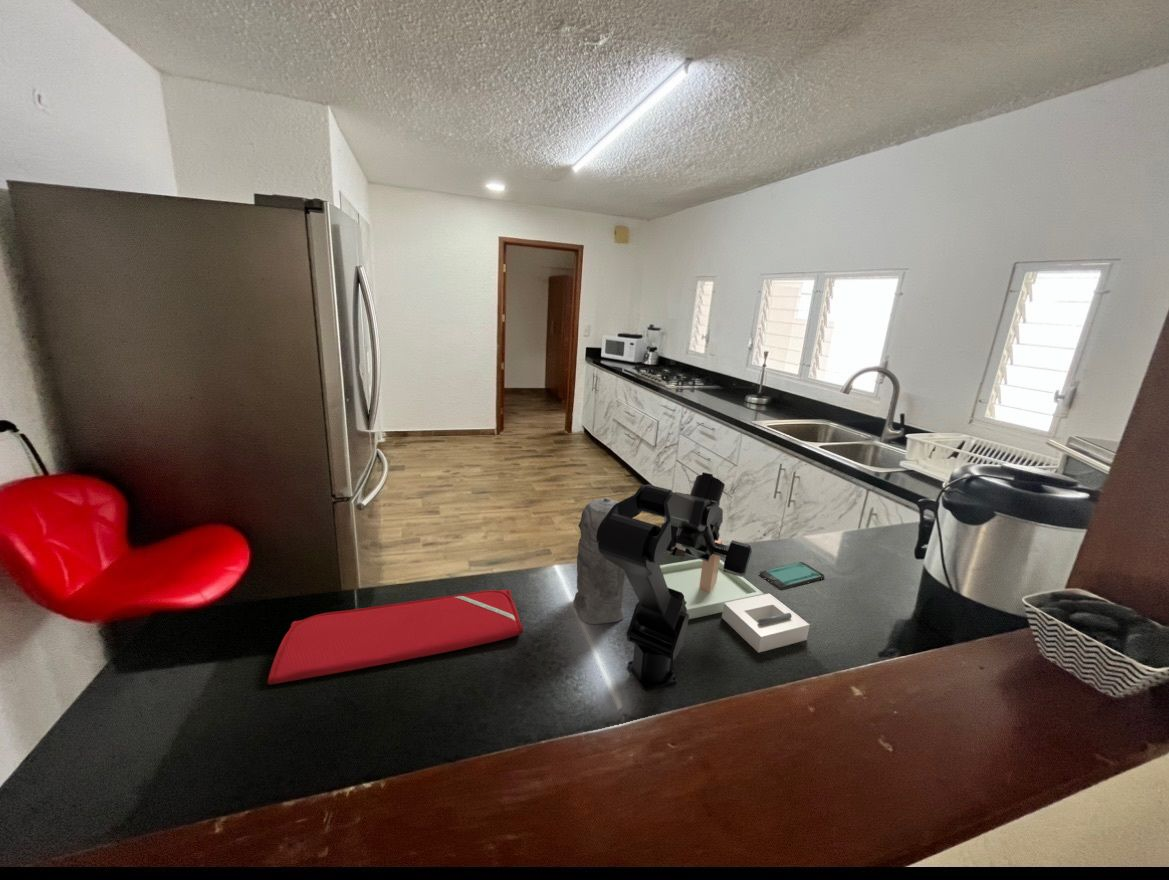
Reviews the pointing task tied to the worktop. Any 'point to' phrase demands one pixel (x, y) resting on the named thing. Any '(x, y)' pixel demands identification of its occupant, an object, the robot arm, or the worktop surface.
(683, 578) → the tray
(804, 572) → the smartphone
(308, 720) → the worktop surface
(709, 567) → the salmon pink rectangular block
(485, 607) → the dish drying mat
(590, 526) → the figurine
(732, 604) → the white slotted base
